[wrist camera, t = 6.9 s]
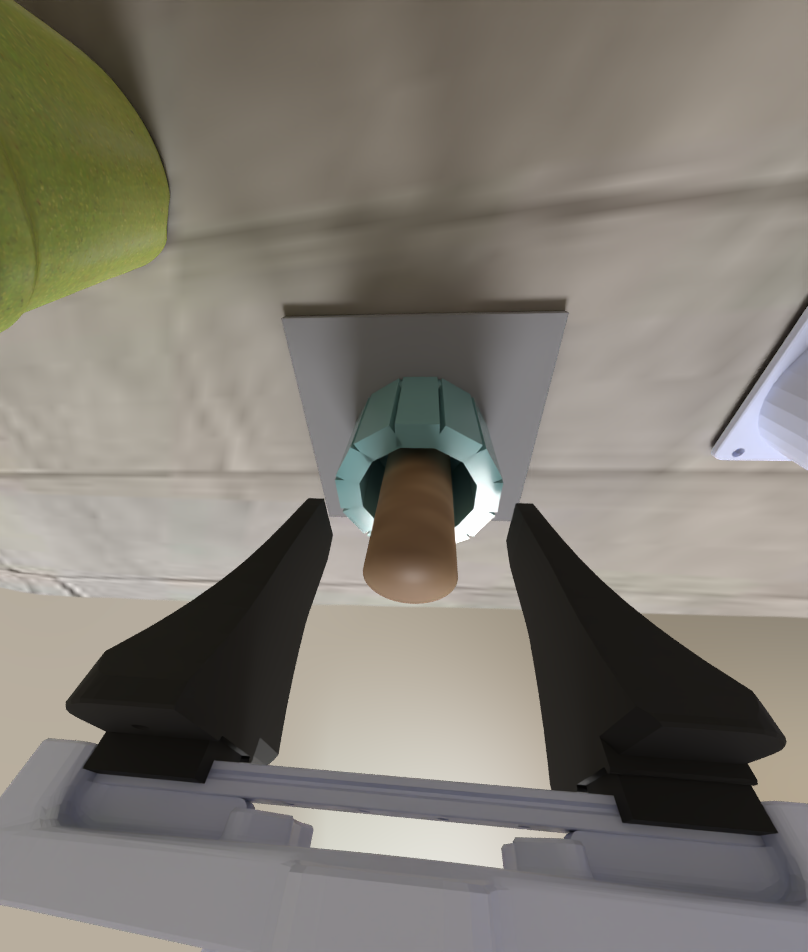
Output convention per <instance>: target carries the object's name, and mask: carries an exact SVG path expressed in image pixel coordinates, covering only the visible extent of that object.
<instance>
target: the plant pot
mask: <svg viewBox="0 0 808 952" xmlns="http://www.w3.org/2000/svg"><path fill="white" fill-rule="evenodd" d="M169 200H170V194H169V188H168V183H167V179H166V175H165V172H164V169H163V166H162V163H161V160H160V157H159V154H158V152H157V150H156V147H155V145H154V143H153V141H152V139H151V137H150V135H149V133H148V131H147V129H146V127H145V126H144V124H143V122H142V120H141V119H140V117H139V116H138V114H137V112H136V111H135V109H134V108H133V106H132V105H131V104H130V102H129V101H128V100H127V98H126V97H125V95H124V94H123V93H122V92H121V90H120V89H119V88H118V87H117V85H116V84H115V83H114V82H113V80H112V79H111V78H110V77H109V76H108V75H107V74H106V73H105V72H104V71H103V70H102V69H101V68H100V67H99V66H98V65H97V64H96V63H95V62H94V61H92V60H91V59H90V58H89V57H88V56H87V55H86V54H85V53H83V52H82V51H81V50H80V49H78V48H77V47H76V46H75V45H73V44H72V43H71V42H70V41H68V40H67V39H66V38H64V37H63V36H62V35H60V34H59V33H57V32H56V31H55V30H53V29H52V28H51V27H49V26H48V25H47V24H45V23H44V22H42V21H41V20H40V19H38V18H37V17H36V16H34V15H33V14H31V13H30V12H29V11H27V10H26V9H24V8H23V7H22V6H20V5H19V4H17V3H16V2H15V1H13V0H0V333H1V332H2V331H4V330H6V329H7V328H9V327H10V326H12V325H13V324H14V323H15V322H16V321H17V320H18V319H19V318H20V316H21V315H22V314H23V313H25V312H27V311H30V310H32V309H35V308H37V307H40V306H42V305H45V304H48V303H50V302H53V301H55V300H58V299H60V298H63V297H65V296H68V295H70V294H73V293H75V292H77V291H80V290H82V289H85V288H87V287H90V286H92V285H95V284H98V283H100V282H102V281H105V280H107V279H110V278H113V277H115V276H118V275H121V274H124V273H126V272H129V271H131V270H134V269H136V268H139V267H142V266H144V265H146V264H148V263H149V262H151V261H152V260H153V259H154V258H156V257H157V256H158V255H159V254H160V252H161V251H162V249H163V248H164V246H165V244H166V240H167V218H168V206H169Z"/></svg>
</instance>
